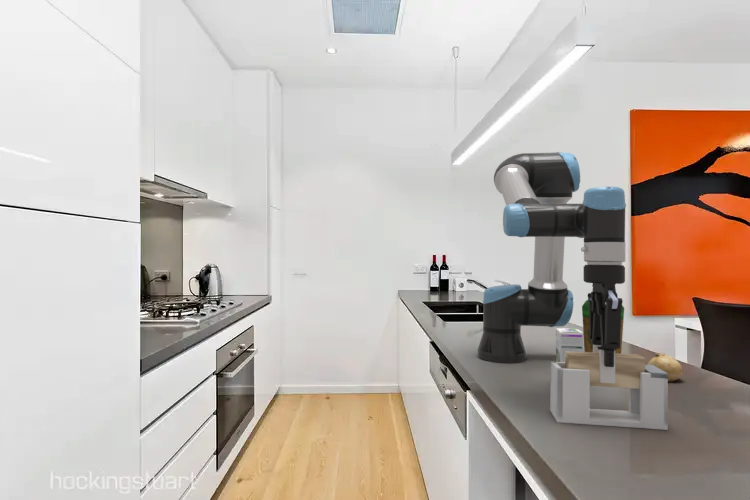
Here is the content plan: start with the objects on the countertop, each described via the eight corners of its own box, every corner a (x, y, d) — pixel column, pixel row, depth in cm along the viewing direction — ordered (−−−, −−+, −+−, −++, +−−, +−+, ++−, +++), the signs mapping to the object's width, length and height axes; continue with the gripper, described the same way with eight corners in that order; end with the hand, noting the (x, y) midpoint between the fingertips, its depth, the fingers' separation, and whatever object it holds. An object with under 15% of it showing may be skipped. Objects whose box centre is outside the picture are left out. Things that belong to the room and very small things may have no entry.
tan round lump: (679, 377, 123) (679, 351, 123) (685, 385, 116) (685, 358, 116) (645, 374, 126) (645, 349, 126) (649, 381, 119) (649, 354, 119)
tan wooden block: (565, 380, 94) (565, 351, 94) (637, 384, 91) (637, 354, 91) (569, 384, 90) (569, 354, 90) (645, 388, 88) (645, 358, 88)
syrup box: (585, 391, 109) (585, 332, 109) (559, 390, 111) (559, 331, 111) (579, 385, 115) (579, 328, 115) (554, 383, 116) (555, 327, 116)
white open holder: (550, 410, 96) (550, 360, 96) (652, 417, 92) (652, 364, 92) (557, 422, 89) (557, 367, 89) (667, 429, 86) (667, 373, 86)
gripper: (573, 263, 100) (573, 368, 100) (597, 263, 84) (596, 390, 83) (609, 263, 99) (609, 370, 98) (640, 264, 82) (640, 392, 82)
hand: (603, 379), depth 91 cm, fingers closed on tan wooden block, 3 cm apart
